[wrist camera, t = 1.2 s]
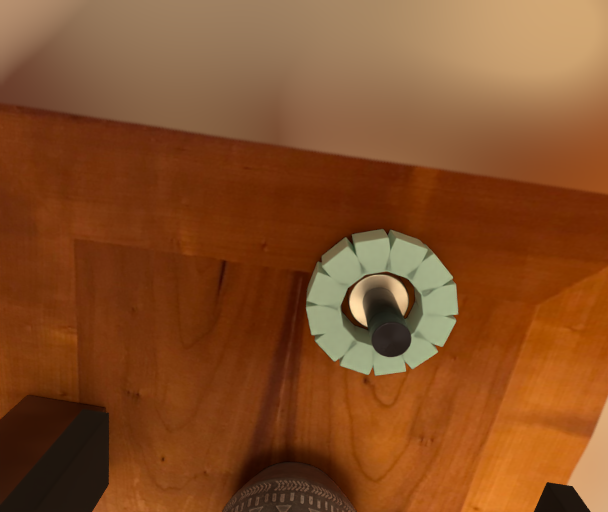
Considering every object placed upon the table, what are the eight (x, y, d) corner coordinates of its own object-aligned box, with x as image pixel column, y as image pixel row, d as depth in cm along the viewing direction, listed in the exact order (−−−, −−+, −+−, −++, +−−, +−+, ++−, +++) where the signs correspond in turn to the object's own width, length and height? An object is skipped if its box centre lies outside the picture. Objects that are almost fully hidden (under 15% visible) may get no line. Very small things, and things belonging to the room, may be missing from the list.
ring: (280, 288, 30) (277, 301, 28) (390, 200, 28) (397, 206, 25) (365, 379, 32) (368, 398, 30) (474, 305, 30) (487, 320, 27)
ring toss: (336, 293, 30) (340, 335, 24) (382, 258, 29) (399, 292, 23) (371, 333, 31) (384, 384, 25) (418, 300, 30) (443, 344, 24)
